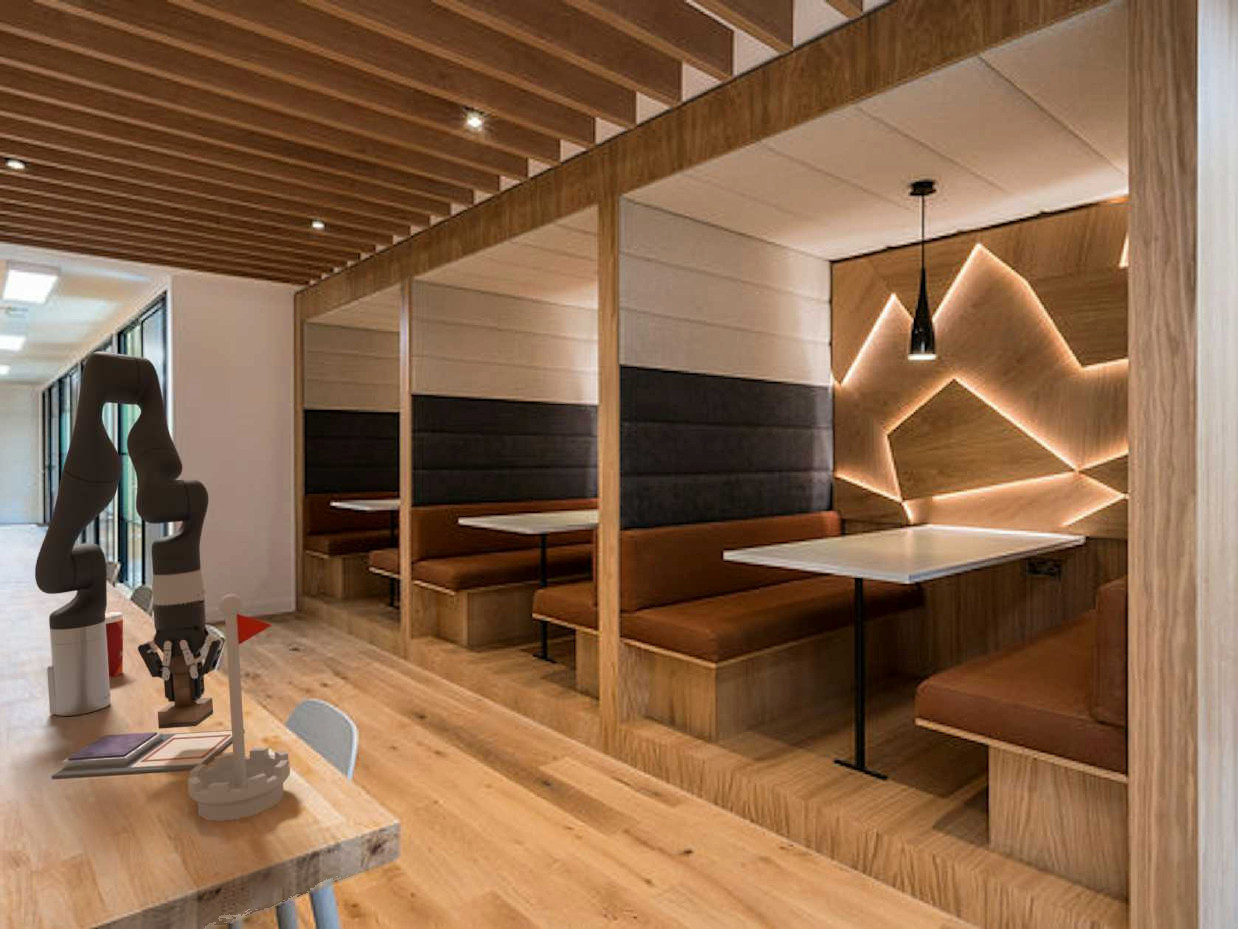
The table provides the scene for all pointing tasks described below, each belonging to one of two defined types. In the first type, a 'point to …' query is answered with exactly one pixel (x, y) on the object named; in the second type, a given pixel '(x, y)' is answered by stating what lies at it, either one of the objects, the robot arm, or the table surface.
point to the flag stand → (238, 745)
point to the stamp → (183, 699)
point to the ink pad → (112, 750)
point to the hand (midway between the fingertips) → (185, 699)
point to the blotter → (165, 755)
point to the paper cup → (114, 642)
